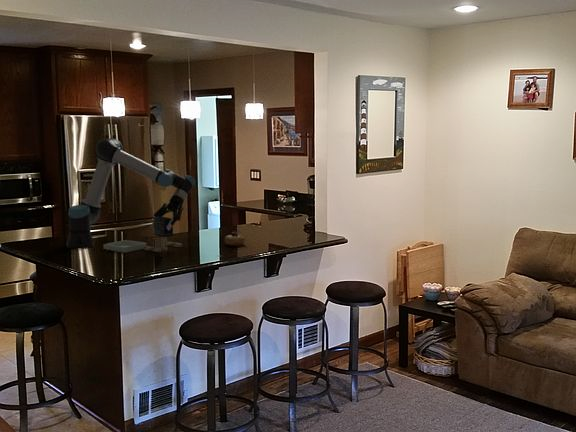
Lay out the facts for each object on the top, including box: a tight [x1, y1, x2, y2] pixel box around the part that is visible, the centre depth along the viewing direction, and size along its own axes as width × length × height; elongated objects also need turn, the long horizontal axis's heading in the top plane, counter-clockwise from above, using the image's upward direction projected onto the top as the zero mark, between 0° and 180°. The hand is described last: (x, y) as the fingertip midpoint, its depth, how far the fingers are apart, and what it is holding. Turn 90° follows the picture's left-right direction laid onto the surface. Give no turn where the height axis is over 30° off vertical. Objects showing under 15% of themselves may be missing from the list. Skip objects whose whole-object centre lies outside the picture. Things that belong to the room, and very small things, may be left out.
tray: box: [103, 239, 148, 254], centre depth 356 cm, size 17×17×3 cm
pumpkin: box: [224, 229, 246, 247], centre depth 370 cm, size 12×12×9 cm
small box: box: [153, 216, 174, 238], centre depth 357 cm, size 11×6×10 cm, turn 47°
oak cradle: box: [143, 241, 183, 253], centre depth 358 cm, size 12×18×2 cm, turn 148°
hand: (159, 228), depth 354 cm, fingers closed on small box, 11 cm apart
